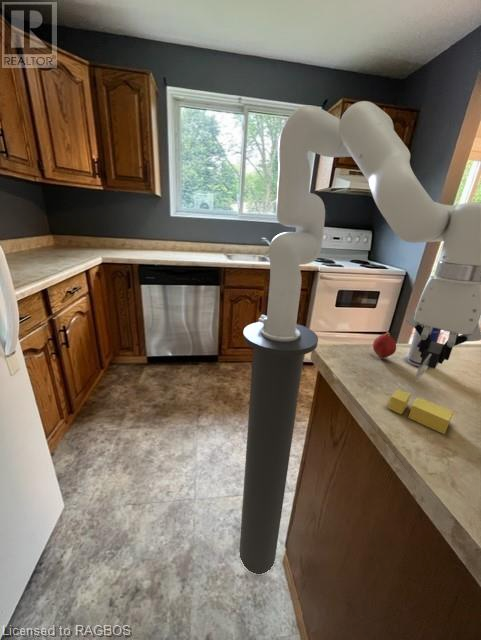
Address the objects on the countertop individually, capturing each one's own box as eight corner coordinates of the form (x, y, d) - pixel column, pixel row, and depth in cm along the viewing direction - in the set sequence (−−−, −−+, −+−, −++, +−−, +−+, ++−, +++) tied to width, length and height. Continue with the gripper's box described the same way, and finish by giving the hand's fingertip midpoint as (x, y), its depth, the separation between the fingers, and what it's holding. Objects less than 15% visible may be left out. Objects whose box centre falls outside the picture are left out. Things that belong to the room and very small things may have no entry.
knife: (407, 379, 51) (411, 364, 49) (428, 354, 61) (432, 341, 60) (423, 385, 49) (428, 369, 48) (441, 358, 60) (446, 345, 59)
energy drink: (429, 369, 72) (443, 328, 68) (406, 364, 74) (418, 323, 70) (428, 361, 76) (441, 322, 72) (406, 356, 79) (417, 317, 75)
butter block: (408, 417, 53) (412, 405, 52) (413, 409, 56) (417, 396, 55) (444, 434, 50) (449, 421, 48) (448, 424, 52) (453, 411, 51)
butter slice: (388, 408, 56) (391, 396, 55) (394, 400, 59) (398, 388, 58) (401, 414, 54) (405, 402, 53) (407, 406, 57) (411, 394, 56)
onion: (367, 352, 80) (373, 327, 78) (387, 354, 80) (394, 329, 77) (374, 361, 75) (381, 335, 72) (396, 363, 74) (403, 337, 72)
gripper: (517, 277, 49) (482, 367, 55) (416, 265, 60) (396, 341, 66) (516, 282, 44) (478, 380, 50) (406, 268, 54) (386, 350, 61)
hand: (432, 357), depth 58 cm, fingers closed on knife, 2 cm apart
